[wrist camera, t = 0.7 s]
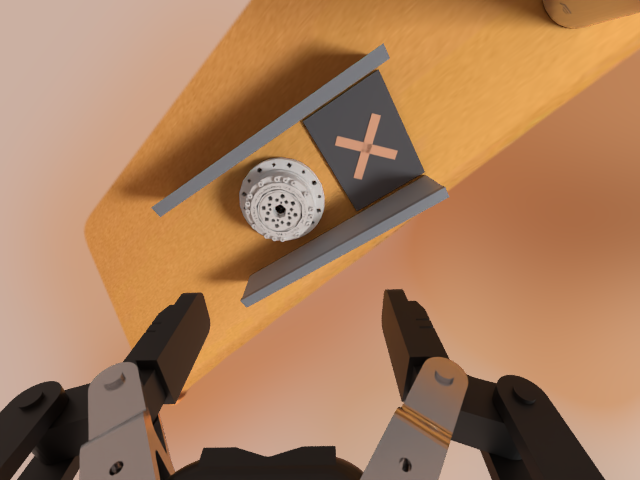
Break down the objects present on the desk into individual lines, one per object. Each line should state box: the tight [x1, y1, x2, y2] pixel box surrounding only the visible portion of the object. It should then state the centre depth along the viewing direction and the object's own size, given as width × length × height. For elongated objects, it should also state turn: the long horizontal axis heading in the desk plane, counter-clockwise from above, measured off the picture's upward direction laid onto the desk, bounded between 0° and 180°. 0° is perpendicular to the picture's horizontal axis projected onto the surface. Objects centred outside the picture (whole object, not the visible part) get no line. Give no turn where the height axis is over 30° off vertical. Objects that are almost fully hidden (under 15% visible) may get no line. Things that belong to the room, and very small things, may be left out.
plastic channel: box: [151, 44, 449, 307], centre depth 31 cm, size 26×15×6 cm, turn 122°
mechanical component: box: [239, 157, 324, 242], centre depth 32 cm, size 10×4×10 cm
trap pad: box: [303, 70, 424, 211], centre depth 31 cm, size 9×12×1 cm
